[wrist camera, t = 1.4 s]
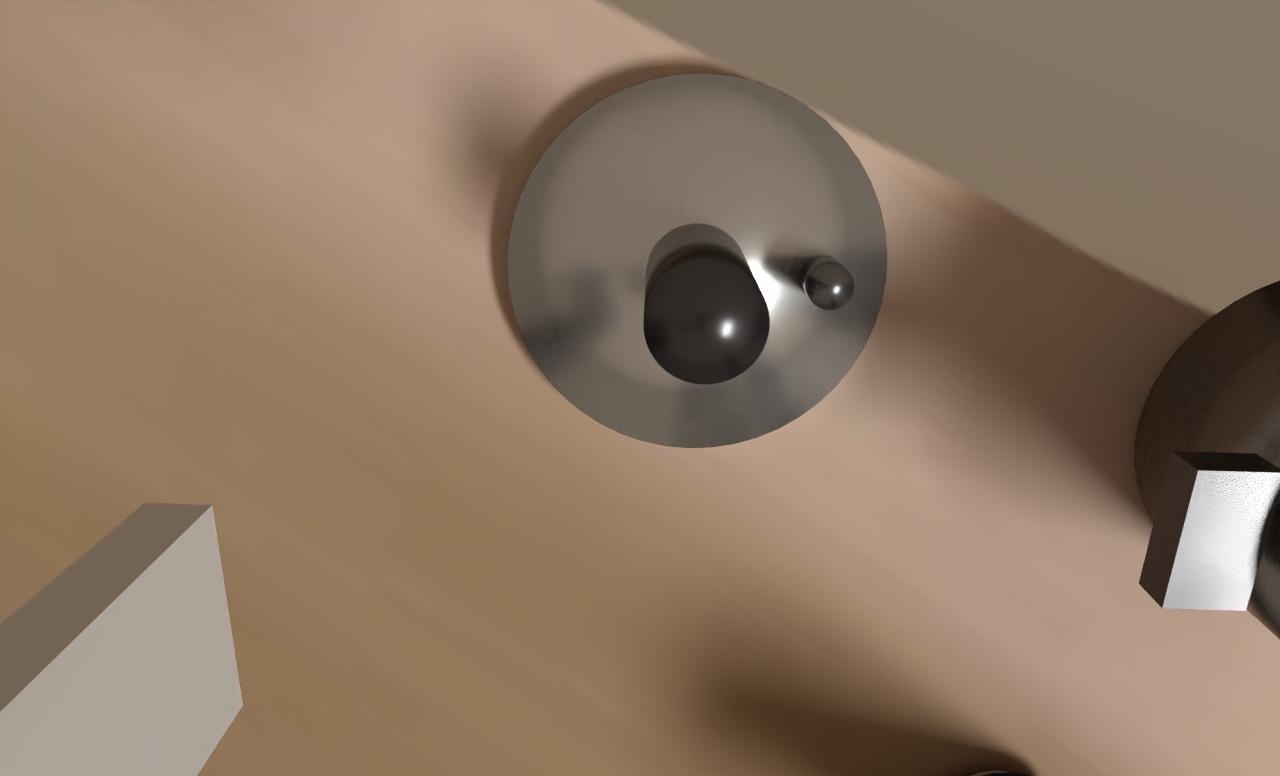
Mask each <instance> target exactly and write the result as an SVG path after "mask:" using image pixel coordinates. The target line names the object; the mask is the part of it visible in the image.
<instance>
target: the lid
mask: <svg viewBox="0 0 1280 776" xmlns="http://www.w3.org/2000/svg"><path fill="white" fill-rule="evenodd" d="M886 269H887V246H886V233H885V227H884V222H883V218H882V213H881V209H880V205H879V202H878V199H877V197H876V194H875V191H874V188H873V186H872V183H871V181H870V179H869V177H868V175H867V173H866V172H865V170H864V168H863V166H862V164H861V162H860V160H859V159H858V157H857V156H856V155H855V153H854V152H853V151H852V149H851V148H850V147H849V145H848V144H847V142H846V141H845V140H844V139H843V137H842V136H841V135H840V134H839V133H838V132H837V131H836V130H835V129H834V128H833V127H832V126H831V125H830V124H829V123H828V122H827V121H826V120H825V119H823V118H822V117H821V116H819V115H818V114H817V113H816V112H814V111H813V110H812V109H810V108H809V107H808V106H806V105H805V104H803V103H802V102H800V101H798V100H796V99H795V98H793V97H791V96H789V95H787V94H786V93H784V92H782V91H780V90H777V89H774V88H772V87H769V86H767V85H764V84H762V83H759V82H756V81H752V80H747V79H743V78H739V77H735V76H729V75H718V74H707V73H699V74H678V75H672V76H667V77H662V78H656V79H652V80H649V81H646V82H643V83H639V84H636V85H633V86H630V87H628V88H626V89H624V90H621V91H619V92H617V93H615V94H613V95H611V96H609V97H607V98H605V99H603V100H602V101H600V102H599V103H597V104H596V105H594V106H593V107H591V108H590V109H588V110H587V111H585V112H584V113H582V114H581V115H580V116H579V117H578V118H577V119H575V120H574V121H573V122H572V123H571V124H570V125H569V126H568V127H567V128H565V129H564V130H563V131H562V132H561V133H560V134H559V136H558V137H557V138H556V139H555V140H554V141H553V143H552V144H551V145H550V146H549V147H548V148H547V150H546V151H545V152H544V154H543V155H542V157H541V158H540V160H539V161H538V163H537V164H536V166H535V168H534V169H533V171H532V172H531V174H530V176H529V178H528V180H527V183H526V185H525V187H524V189H523V191H522V193H521V195H520V198H519V201H518V204H517V208H516V211H515V214H514V217H513V221H512V226H511V232H510V238H509V244H508V266H507V270H508V281H509V292H510V297H511V301H512V306H513V310H514V315H515V318H516V321H517V323H518V326H519V329H520V331H521V334H522V337H523V339H524V341H525V343H526V345H527V347H528V349H529V351H530V353H531V355H532V356H533V358H534V360H535V362H536V363H537V364H538V366H539V367H540V369H541V370H542V371H543V373H544V374H545V376H546V377H547V379H548V380H549V381H550V382H551V383H552V384H553V385H554V386H555V387H556V388H557V390H558V391H559V392H560V393H561V394H562V395H563V396H564V397H565V398H566V399H568V400H569V401H570V402H571V403H572V404H573V405H575V406H576V407H577V408H578V409H579V410H581V411H582V412H583V413H585V414H587V415H588V416H590V417H591V418H593V419H594V420H596V421H597V422H599V423H600V424H602V425H604V426H606V427H608V428H611V429H613V430H615V431H617V432H619V433H621V434H624V435H626V436H629V437H632V438H635V439H638V440H641V441H644V442H649V443H654V444H659V445H663V446H672V447H683V448H704V447H717V446H723V445H730V444H735V443H739V442H743V441H746V440H750V439H753V438H757V437H759V436H762V435H764V434H767V433H769V432H772V431H774V430H776V429H779V428H781V427H782V426H784V425H786V424H788V423H789V422H791V421H793V420H795V419H797V418H798V417H800V416H801V415H803V414H804V413H805V412H807V411H808V410H809V409H811V408H812V407H814V406H815V405H816V404H818V403H819V402H820V401H821V400H822V399H823V398H824V397H825V396H826V395H827V394H828V393H829V392H830V391H832V390H833V389H834V388H835V387H836V386H837V384H838V383H839V382H840V381H841V380H842V378H843V377H844V376H845V375H846V374H847V372H848V371H849V370H850V369H851V367H852V366H853V364H854V363H855V361H856V359H857V358H858V356H859V355H860V353H861V352H862V350H863V348H864V346H865V344H866V342H867V340H868V338H869V336H870V334H871V332H872V330H873V327H874V325H875V322H876V319H877V316H878V312H879V309H880V306H881V303H882V298H883V292H884V287H885V282H886Z"/></svg>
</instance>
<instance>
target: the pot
mask: <svg viewBox="0 0 1280 776" xmlns="http://www.w3.org/2000/svg"><path fill="white" fill-rule="evenodd" d="M1135 469H1136V477H1137V483H1138V487H1139V490H1140V493H1141V497H1142V500H1143V502H1144V504H1145V506H1146V508H1147V510H1148V512H1149V514H1150V516H1151V517H1152V519H1153V520H1154V524H1153V528H1152V532H1151V536H1150V540H1149V544H1148V549H1147V553H1146V557H1145V561H1144V565H1143V569H1142V573H1141V577H1140V581H1139V584H1140V585H1141V586H1142V587H1143V588H1144V590H1145V591H1146V592H1147V593H1148V594H1149V595H1150V596H1151V597H1152V598H1153V599H1154V600H1155V601H1156V602H1157V603H1158V604H1159V605H1160V606H1161V607H1162V608H1171V609H1204V610H1238V611H1246V609H1247V610H1248V611H1249V612H1250V613H1251V614H1252V615H1253V616H1255V617H1256V618H1257V619H1258V620H1259V621H1260V622H1261V623H1262V624H1263V625H1265V626H1266V627H1267V628H1268V629H1269V630H1270V631H1271V632H1272V633H1273V634H1274V635H1276V636H1277V637H1278V638H1279V639H1280V281H1278V282H1275V283H1273V284H1270V285H1268V286H1265V287H1263V288H1260V289H1258V290H1256V291H1254V292H1252V293H1250V294H1248V295H1246V296H1244V297H1243V298H1241V299H1239V300H1237V301H1235V302H1233V303H1232V304H1231V305H1229V306H1228V307H1226V308H1225V309H1223V310H1222V311H1220V312H1219V313H1217V314H1216V315H1214V316H1213V317H1212V318H1211V319H1210V320H1208V321H1207V322H1206V323H1205V324H1204V325H1202V326H1201V327H1200V328H1199V329H1198V330H1196V331H1195V332H1194V333H1193V334H1192V335H1191V337H1190V338H1189V339H1188V340H1187V341H1186V342H1185V343H1184V344H1183V345H1182V346H1181V347H1180V348H1179V349H1178V350H1177V352H1176V353H1175V354H1174V356H1173V357H1172V358H1171V360H1170V361H1169V362H1168V363H1167V365H1166V366H1165V367H1164V369H1163V371H1162V372H1161V374H1160V376H1159V377H1158V379H1157V381H1156V382H1155V384H1154V386H1153V388H1152V390H1151V392H1150V395H1149V397H1148V399H1147V401H1146V403H1145V406H1144V409H1143V412H1142V415H1141V419H1140V422H1139V425H1138V431H1137V437H1136V443H1135Z"/></svg>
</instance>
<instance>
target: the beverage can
mask: <svg viewBox="0 0 1280 776" xmlns="http://www.w3.org/2000/svg"><path fill="white" fill-rule="evenodd" d="M971 776H1029V775H1025V774H1019V773H1011V772H1007V771H985V772H980V773H976V774H973V775H971Z"/></svg>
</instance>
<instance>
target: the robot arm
mask: <svg viewBox="0 0 1280 776" xmlns="http://www.w3.org/2000/svg"><path fill="white" fill-rule="evenodd" d="M242 706H243V703H242V697H241V690H240V684H239V677H238V671H237V664H236V658H235V651H234V644H233V638H232V631H231V625H230V618H229V612H228V605H227V599H226V592H225V586H224V579H223V573H222V566H221V560H220V553H219V547H218V540H217V533H216V527H215V520H214V514H213V507H212V505H194V504H163V503H144V504H143V505H142V506H140V507H139V508H138V509H137V510H136V511H134V512H133V513H132V514H131V515H130V516H129V517H127V518H126V519H125V520H124V521H123V522H121V523H120V524H119V525H118V526H117V527H115V528H114V529H113V530H112V531H111V532H110V533H108V534H107V535H106V536H105V537H104V538H102V539H101V540H100V541H99V542H98V543H96V544H95V545H94V546H93V547H92V548H91V549H89V550H88V551H87V552H86V553H85V554H83V555H82V556H81V557H80V558H79V559H77V560H76V561H75V562H74V563H73V564H72V565H70V566H69V567H68V568H67V569H66V570H64V571H63V572H62V573H61V574H60V575H59V576H57V577H56V578H55V579H54V580H53V581H51V582H50V583H49V584H48V585H47V586H45V587H44V588H43V589H42V590H41V591H40V592H38V593H37V594H36V595H35V596H34V597H32V598H31V599H30V600H29V601H28V602H26V603H25V604H24V605H23V606H22V607H21V608H19V609H18V610H17V611H16V612H15V613H13V614H12V615H11V616H10V617H9V618H7V619H6V620H5V621H4V622H3V623H2V624H0V776H197V775H198V773H199V772H200V770H201V769H202V767H203V766H204V764H205V763H206V761H207V760H208V758H209V756H210V755H211V753H212V752H213V750H214V749H215V747H216V746H217V744H218V743H219V741H220V740H221V738H222V737H223V735H224V734H225V732H226V730H227V729H228V727H229V726H230V724H231V723H232V721H233V720H234V718H235V717H236V715H237V714H238V712H239V711H240V709H241V707H242Z"/></svg>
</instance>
